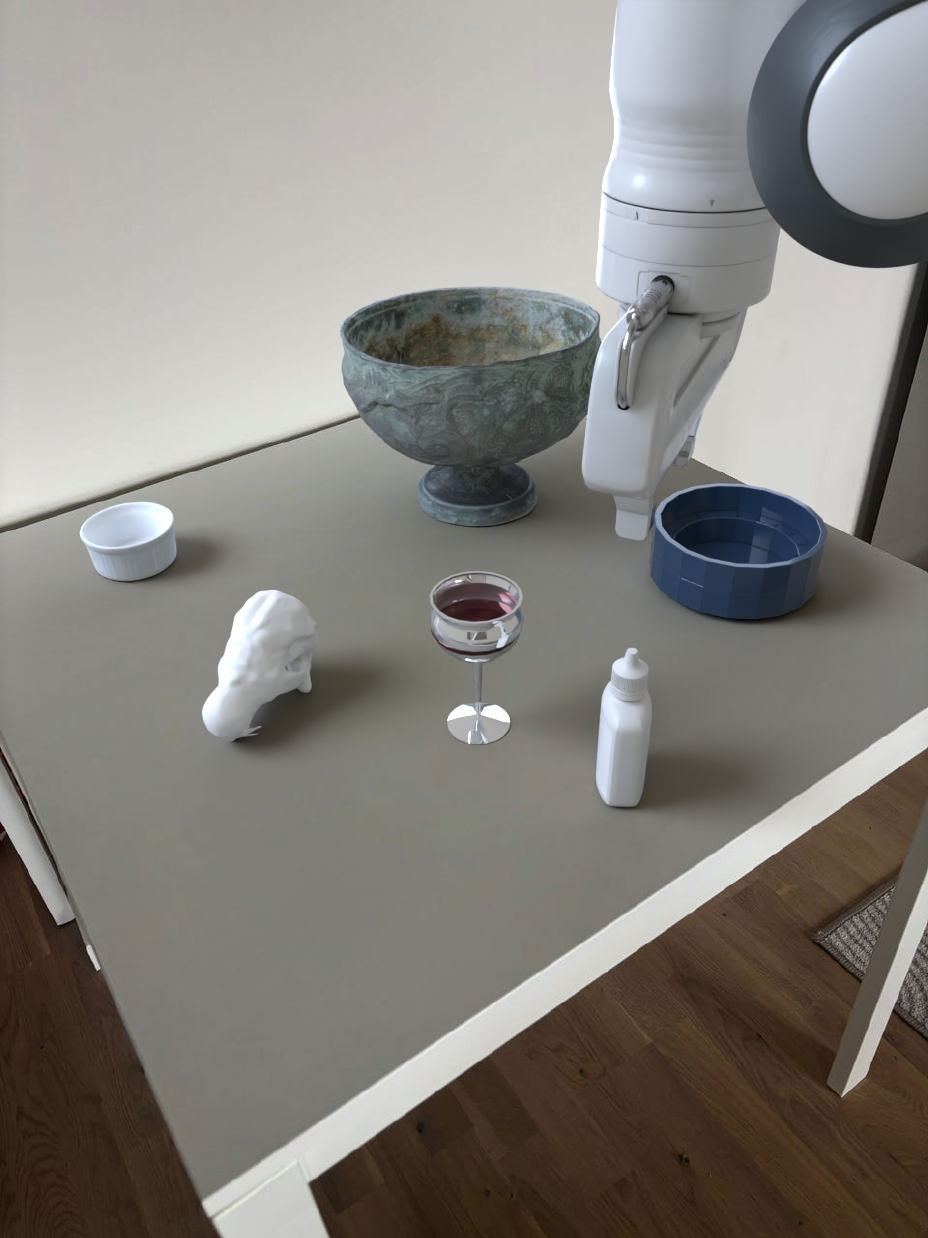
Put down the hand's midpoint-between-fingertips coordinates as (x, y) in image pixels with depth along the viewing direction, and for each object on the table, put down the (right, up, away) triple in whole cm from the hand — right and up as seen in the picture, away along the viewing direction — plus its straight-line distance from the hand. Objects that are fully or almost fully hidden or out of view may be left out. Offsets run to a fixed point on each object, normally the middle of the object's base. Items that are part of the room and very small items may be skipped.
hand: (656, 494), depth 57 cm
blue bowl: (+14, -3, +35) cm, 38 cm away
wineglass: (-10, -16, +19) cm, 27 cm away
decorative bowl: (-10, +6, +49) cm, 51 cm away
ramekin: (-44, -2, +40) cm, 59 cm away
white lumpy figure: (-28, -15, +21) cm, 38 cm away
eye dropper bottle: (0, -19, +14) cm, 24 cm away
